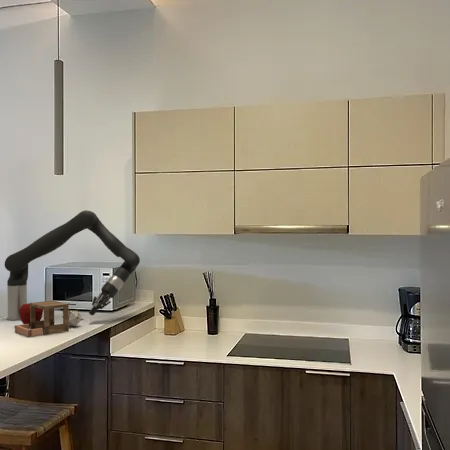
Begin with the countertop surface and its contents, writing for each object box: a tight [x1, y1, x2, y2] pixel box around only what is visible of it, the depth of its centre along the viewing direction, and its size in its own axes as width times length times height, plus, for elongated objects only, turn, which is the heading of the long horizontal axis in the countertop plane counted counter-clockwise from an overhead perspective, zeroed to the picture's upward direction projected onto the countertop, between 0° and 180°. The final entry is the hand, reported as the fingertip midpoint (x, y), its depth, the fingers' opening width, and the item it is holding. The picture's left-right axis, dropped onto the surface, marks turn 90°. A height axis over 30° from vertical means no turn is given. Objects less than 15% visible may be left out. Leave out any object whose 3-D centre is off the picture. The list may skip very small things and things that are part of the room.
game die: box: [61, 308, 84, 328], centre depth 238 cm, size 9×8×10 cm
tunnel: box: [29, 299, 70, 336], centre depth 230 cm, size 16×11×12 cm
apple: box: [19, 301, 44, 328], centre depth 241 cm, size 11×11×12 cm
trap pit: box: [14, 323, 44, 338], centre depth 224 cm, size 15×6×3 cm, turn 44°
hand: (90, 314), depth 245 cm, fingers closed
